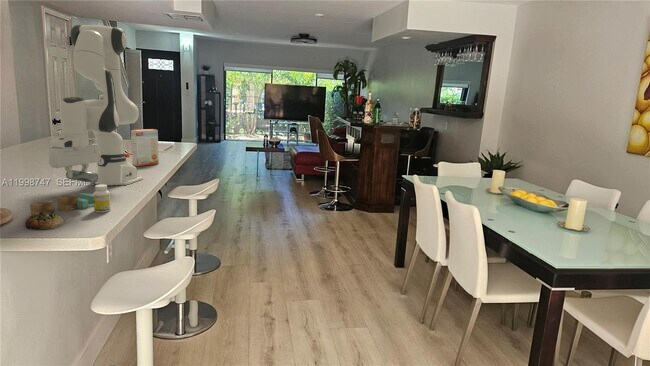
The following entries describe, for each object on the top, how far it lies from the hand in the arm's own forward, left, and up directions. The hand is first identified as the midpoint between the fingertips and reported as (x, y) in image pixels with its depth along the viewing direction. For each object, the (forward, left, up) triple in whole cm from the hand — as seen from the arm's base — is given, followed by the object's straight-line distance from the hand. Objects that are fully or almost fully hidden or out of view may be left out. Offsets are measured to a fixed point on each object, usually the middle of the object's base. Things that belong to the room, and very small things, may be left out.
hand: (77, 176), depth 164 cm
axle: (0, +2, -2) cm, 3 cm away
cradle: (0, +2, -11) cm, 11 cm away
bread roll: (+24, +12, -12) cm, 29 cm away
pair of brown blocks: (+12, +2, -11) cm, 16 cm away
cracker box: (-80, -38, -11) cm, 89 cm away
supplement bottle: (+3, +15, -11) cm, 19 cm away
